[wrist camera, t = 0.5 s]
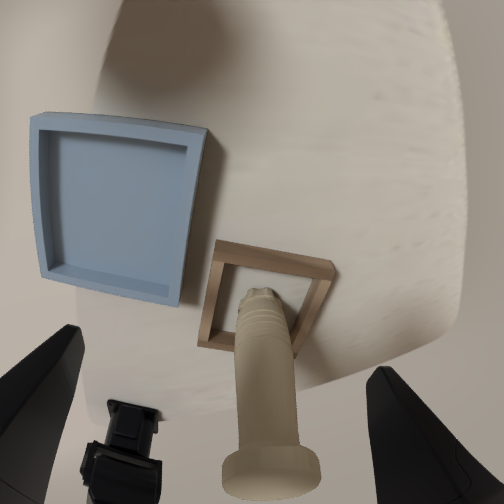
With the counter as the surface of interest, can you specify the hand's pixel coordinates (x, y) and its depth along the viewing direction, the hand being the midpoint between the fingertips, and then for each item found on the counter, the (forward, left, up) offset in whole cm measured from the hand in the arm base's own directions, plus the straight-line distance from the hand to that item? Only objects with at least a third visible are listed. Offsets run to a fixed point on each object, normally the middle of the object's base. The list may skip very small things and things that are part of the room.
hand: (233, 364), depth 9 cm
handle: (-9, -4, -14) cm, 17 cm away
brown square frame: (-9, -4, -14) cm, 17 cm away
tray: (-3, +8, -14) cm, 17 cm away
